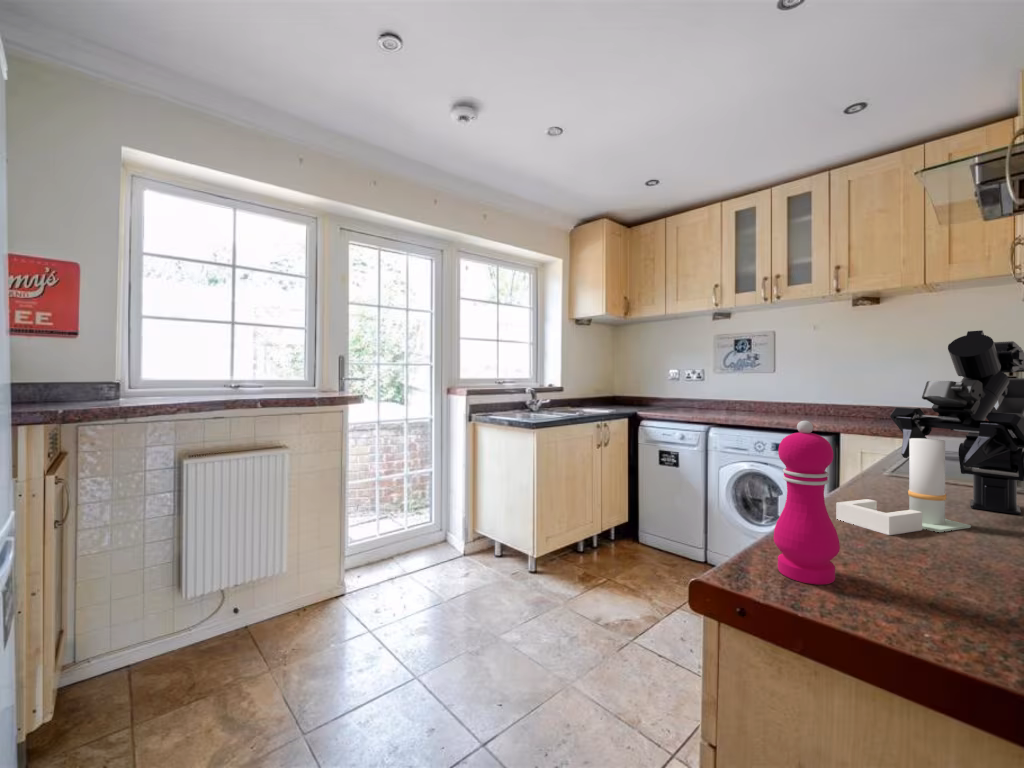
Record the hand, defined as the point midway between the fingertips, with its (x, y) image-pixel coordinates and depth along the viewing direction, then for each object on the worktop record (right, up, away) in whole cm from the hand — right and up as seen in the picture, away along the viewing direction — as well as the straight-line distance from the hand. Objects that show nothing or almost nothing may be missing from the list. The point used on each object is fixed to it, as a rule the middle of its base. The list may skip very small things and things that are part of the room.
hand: (932, 460), depth 80 cm
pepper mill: (-35, -11, -21) cm, 42 cm away
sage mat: (-2, -11, -1) cm, 11 cm away
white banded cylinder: (-1, -10, -1) cm, 10 cm away
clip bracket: (-10, -11, -1) cm, 15 cm away
